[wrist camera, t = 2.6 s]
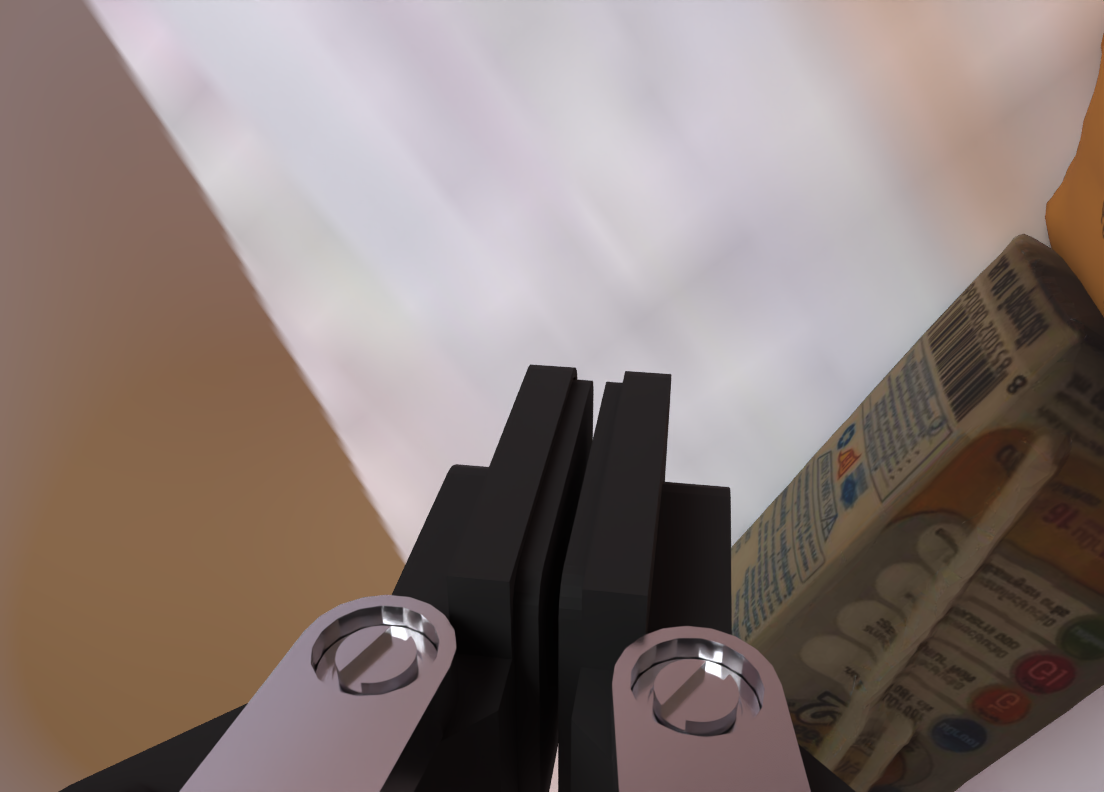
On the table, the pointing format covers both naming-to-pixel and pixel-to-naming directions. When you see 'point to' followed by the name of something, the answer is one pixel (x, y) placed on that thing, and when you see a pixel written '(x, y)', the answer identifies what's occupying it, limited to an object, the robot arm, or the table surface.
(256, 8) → the table surface
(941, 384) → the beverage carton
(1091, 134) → the coffee package
